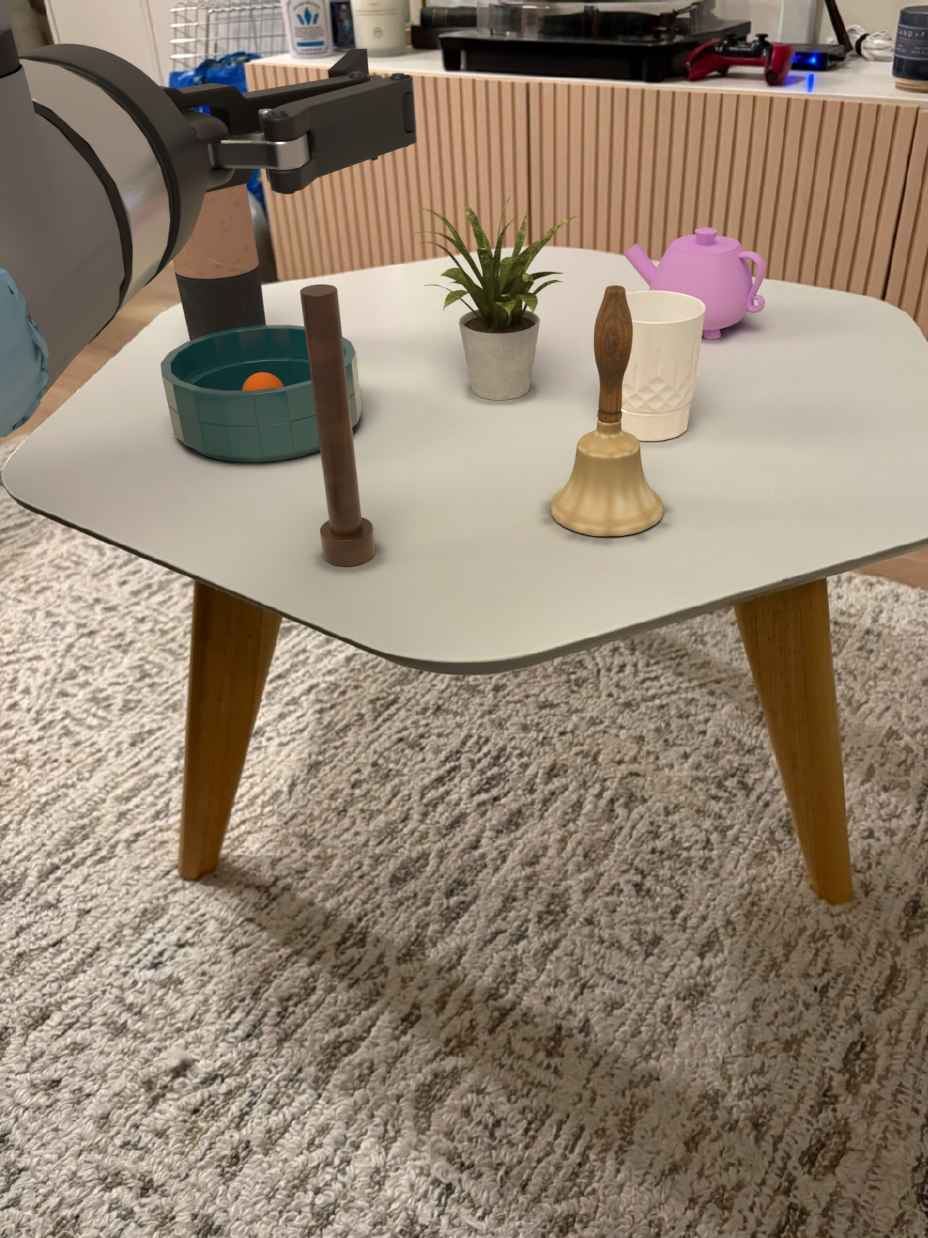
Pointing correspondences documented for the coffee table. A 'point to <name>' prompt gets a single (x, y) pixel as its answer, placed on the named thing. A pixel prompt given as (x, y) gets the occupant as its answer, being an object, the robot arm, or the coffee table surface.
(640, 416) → the white cup
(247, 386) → the orange ball
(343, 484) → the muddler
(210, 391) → the bowl
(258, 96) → the robot arm
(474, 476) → the coffee table surface
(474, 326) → the house plant
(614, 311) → the hand bell
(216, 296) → the travel mug
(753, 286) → the teapot
